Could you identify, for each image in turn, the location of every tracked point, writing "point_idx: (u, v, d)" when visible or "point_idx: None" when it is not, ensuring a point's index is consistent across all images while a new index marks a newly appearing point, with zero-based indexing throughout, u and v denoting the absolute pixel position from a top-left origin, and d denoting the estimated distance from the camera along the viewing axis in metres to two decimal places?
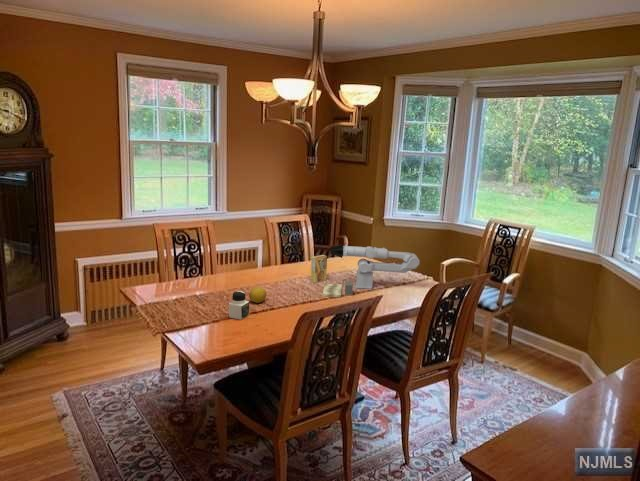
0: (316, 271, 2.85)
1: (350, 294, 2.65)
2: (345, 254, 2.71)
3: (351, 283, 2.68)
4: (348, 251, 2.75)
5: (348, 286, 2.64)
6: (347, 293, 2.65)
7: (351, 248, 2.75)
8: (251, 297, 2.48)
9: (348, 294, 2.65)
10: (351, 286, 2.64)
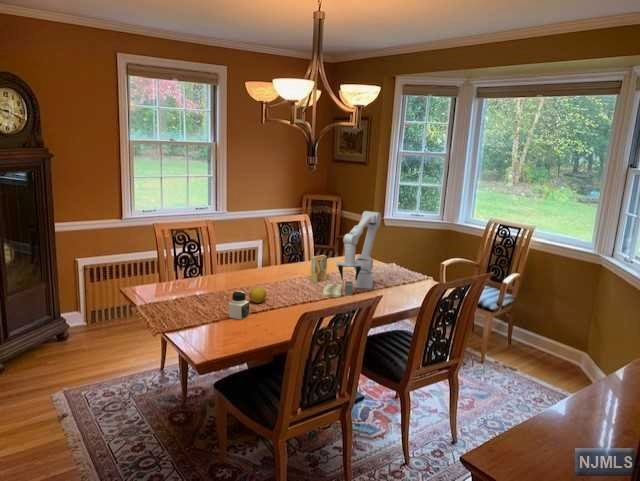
0: (316, 271, 2.85)
1: (350, 294, 2.65)
2: (362, 265, 2.65)
3: (351, 283, 2.68)
4: (354, 262, 2.64)
5: (348, 286, 2.64)
6: (347, 293, 2.65)
7: (353, 259, 2.62)
8: (251, 297, 2.48)
9: (348, 294, 2.65)
10: (351, 286, 2.64)
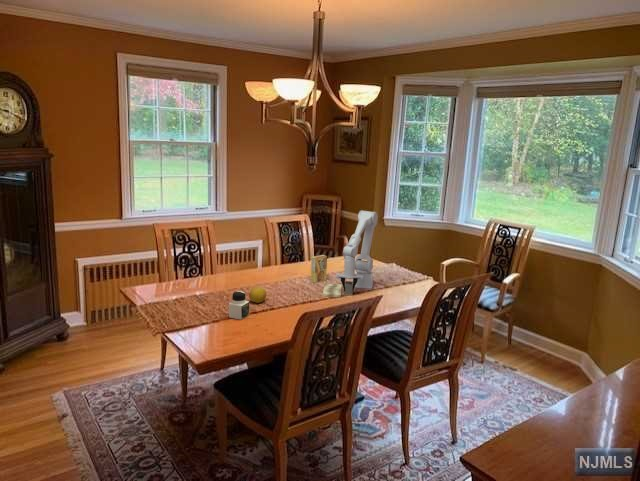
0: (316, 271, 2.85)
1: (350, 294, 2.65)
2: (362, 276, 2.66)
3: (351, 283, 2.68)
4: (354, 273, 2.66)
5: (348, 286, 2.64)
6: (347, 292, 2.65)
7: (352, 271, 2.64)
8: (251, 297, 2.48)
9: (348, 294, 2.65)
10: (351, 286, 2.64)
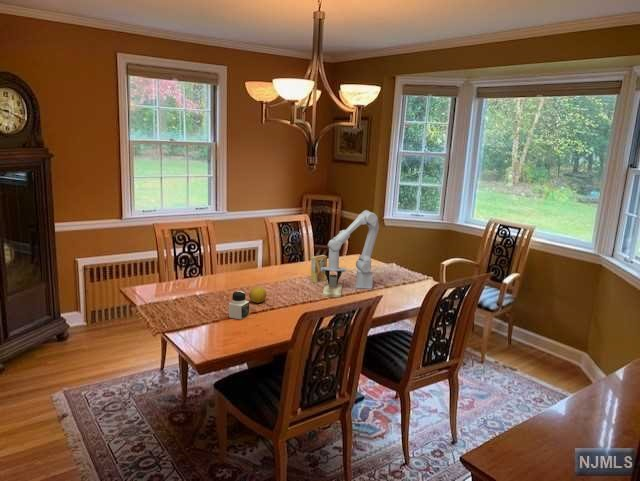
0: (316, 271, 2.85)
1: (334, 287, 2.73)
2: None
3: (335, 276, 2.75)
4: (338, 266, 2.74)
5: (332, 279, 2.72)
6: (331, 285, 2.73)
7: (336, 264, 2.72)
8: (251, 297, 2.48)
9: (332, 287, 2.73)
10: (335, 279, 2.72)
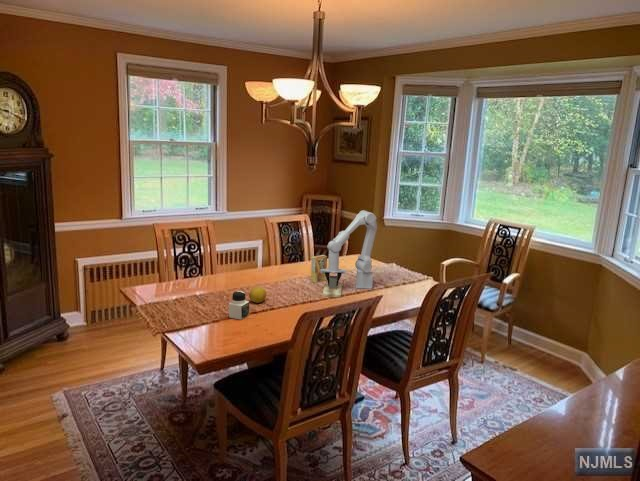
0: (316, 271, 2.85)
1: (334, 288, 2.71)
2: None
3: (335, 277, 2.73)
4: (338, 268, 2.71)
5: (332, 280, 2.70)
6: (331, 286, 2.71)
7: (336, 266, 2.70)
8: (251, 297, 2.48)
9: (332, 288, 2.71)
10: (335, 280, 2.70)
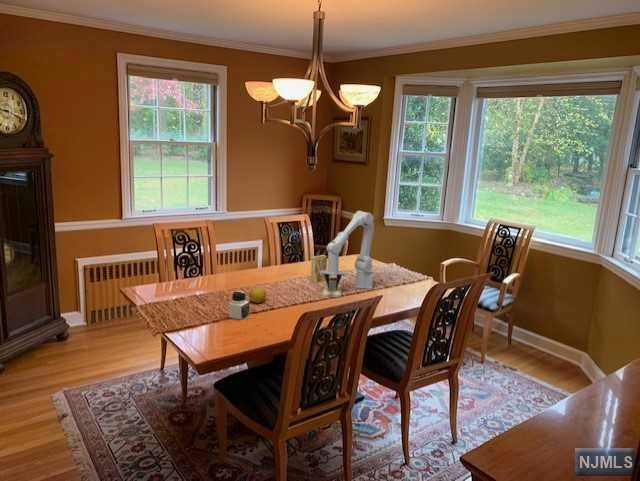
0: (316, 271, 2.85)
1: (334, 290, 2.67)
2: None
3: (335, 279, 2.69)
4: None
5: (332, 282, 2.66)
6: (330, 289, 2.67)
7: (336, 268, 2.66)
8: (251, 297, 2.48)
9: (332, 290, 2.67)
10: (335, 282, 2.66)
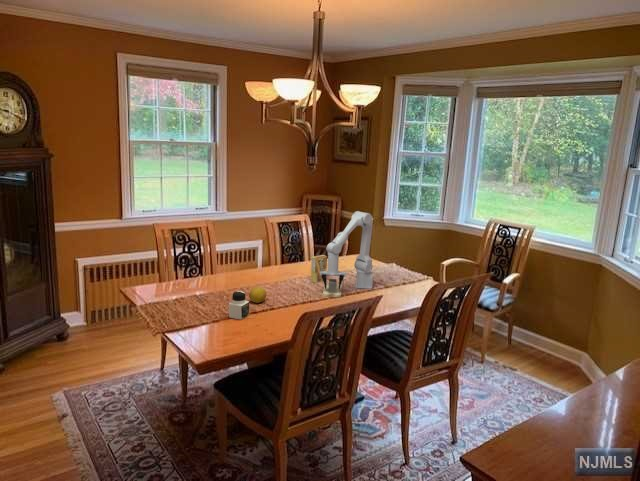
0: (316, 271, 2.85)
1: (334, 292, 2.65)
2: None
3: (335, 281, 2.67)
4: None
5: (332, 283, 2.64)
6: (330, 290, 2.65)
7: (336, 268, 2.63)
8: (251, 297, 2.48)
9: (332, 292, 2.65)
10: (335, 283, 2.64)
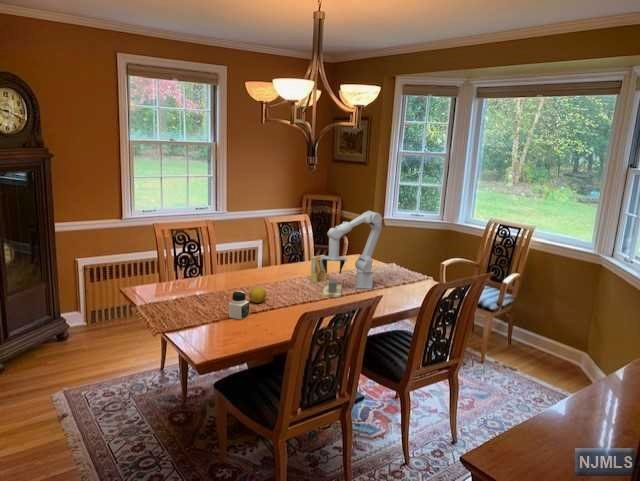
0: (316, 271, 2.85)
1: (334, 292, 2.65)
2: (346, 258, 2.70)
3: (335, 281, 2.67)
4: (338, 255, 2.69)
5: (332, 283, 2.64)
6: (330, 290, 2.65)
7: (336, 253, 2.67)
8: (251, 297, 2.48)
9: (332, 292, 2.65)
10: (335, 283, 2.64)
